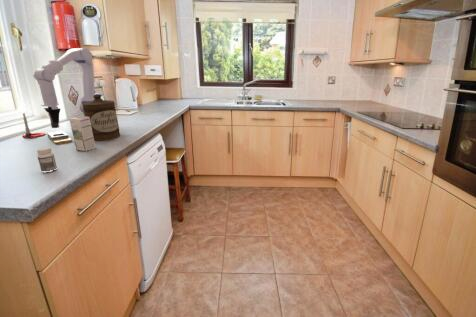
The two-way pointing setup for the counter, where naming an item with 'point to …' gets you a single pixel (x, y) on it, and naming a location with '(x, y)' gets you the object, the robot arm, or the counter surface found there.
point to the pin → (53, 125)
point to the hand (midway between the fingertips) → (55, 122)
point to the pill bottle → (46, 159)
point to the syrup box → (82, 133)
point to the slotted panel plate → (59, 137)
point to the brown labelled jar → (102, 118)
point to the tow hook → (28, 134)
